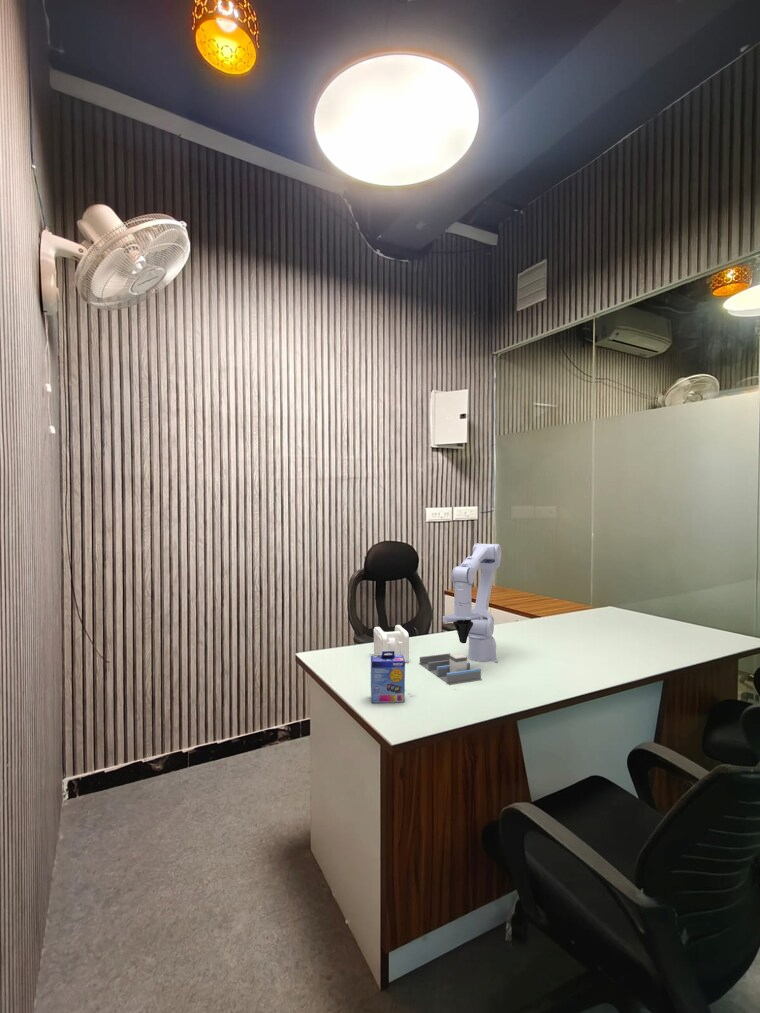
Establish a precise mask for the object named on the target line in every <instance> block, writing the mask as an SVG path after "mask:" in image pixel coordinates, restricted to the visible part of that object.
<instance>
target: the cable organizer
mask: <svg viewBox="0 0 760 1013" xmlns="http://www.w3.org/2000/svg"><path fill="white" fill-rule="evenodd" d="M409 635H410V634H409V632H408V631H407V630H406V629H405V628H403V627H402V625H401V624H396V625H395V626H394V631H384V630H383V629H382V628H381V627H380V626H374V628H373V654H374V655H382V651H394V655H403V656H404V659H405V663H409V662H410V636H409ZM374 655H373V656H374ZM384 655H392V654H391V653H386V654H384Z"/></svg>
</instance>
